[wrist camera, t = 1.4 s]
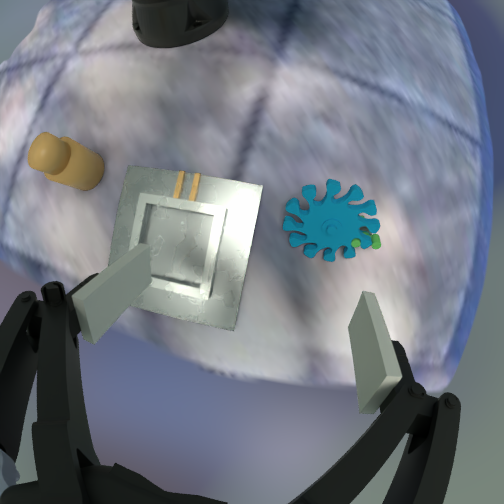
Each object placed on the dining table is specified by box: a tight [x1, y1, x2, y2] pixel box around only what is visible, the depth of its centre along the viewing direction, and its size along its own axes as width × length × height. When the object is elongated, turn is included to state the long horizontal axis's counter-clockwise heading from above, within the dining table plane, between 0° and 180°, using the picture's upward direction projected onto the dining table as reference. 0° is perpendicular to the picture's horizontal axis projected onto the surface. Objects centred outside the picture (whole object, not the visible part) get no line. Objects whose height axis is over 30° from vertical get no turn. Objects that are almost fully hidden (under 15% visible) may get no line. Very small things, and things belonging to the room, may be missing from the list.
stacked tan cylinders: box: [28, 132, 104, 191], centre depth 25 cm, size 5×5×10 cm
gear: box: [283, 179, 381, 262], centre depth 28 cm, size 11×6×10 cm
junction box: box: [108, 165, 263, 331], centre depth 29 cm, size 16×16×3 cm
